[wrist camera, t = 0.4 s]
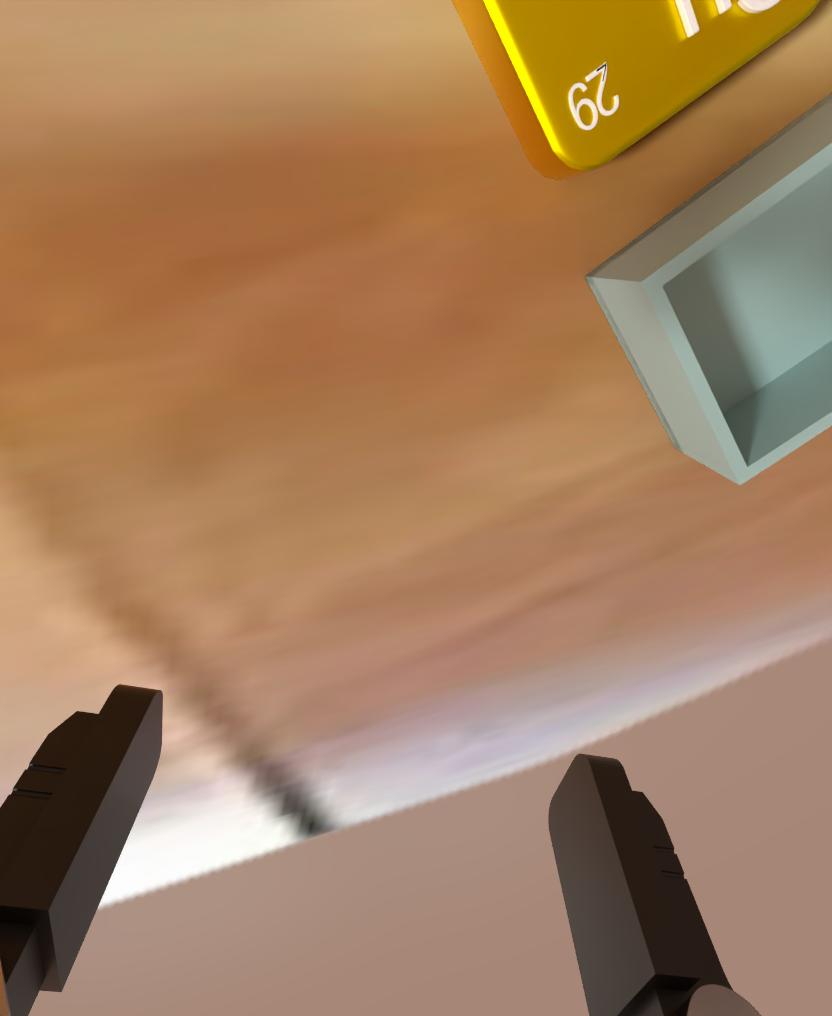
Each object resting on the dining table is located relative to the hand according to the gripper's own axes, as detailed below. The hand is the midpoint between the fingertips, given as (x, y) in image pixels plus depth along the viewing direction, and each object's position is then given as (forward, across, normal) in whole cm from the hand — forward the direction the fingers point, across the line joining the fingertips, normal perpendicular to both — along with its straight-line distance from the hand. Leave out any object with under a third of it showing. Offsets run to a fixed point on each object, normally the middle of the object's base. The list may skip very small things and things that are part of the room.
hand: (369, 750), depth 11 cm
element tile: (+31, -6, -21) cm, 38 cm away
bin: (+31, -24, -12) cm, 41 cm away
